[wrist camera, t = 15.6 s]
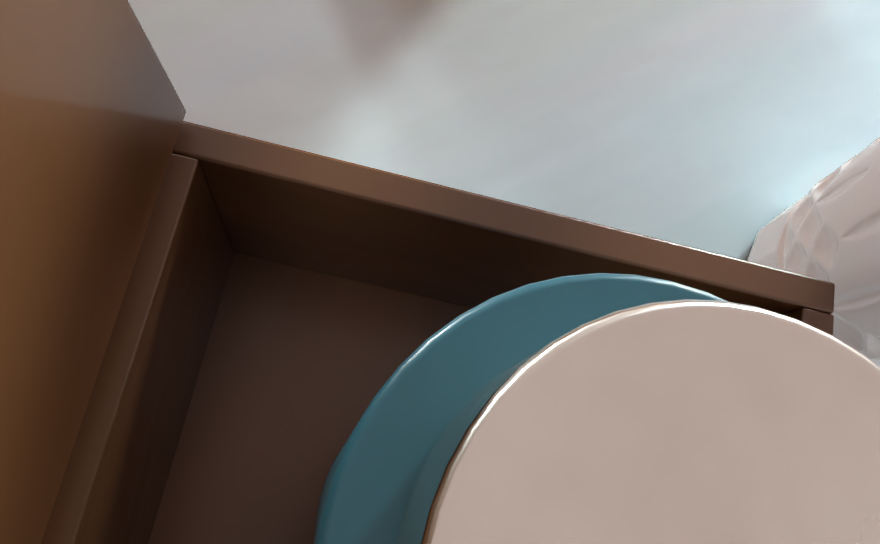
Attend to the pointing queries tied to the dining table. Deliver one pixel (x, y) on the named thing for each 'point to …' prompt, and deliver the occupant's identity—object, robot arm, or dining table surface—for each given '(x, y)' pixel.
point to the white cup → (836, 246)
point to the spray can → (615, 427)
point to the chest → (310, 329)
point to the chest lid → (68, 223)
